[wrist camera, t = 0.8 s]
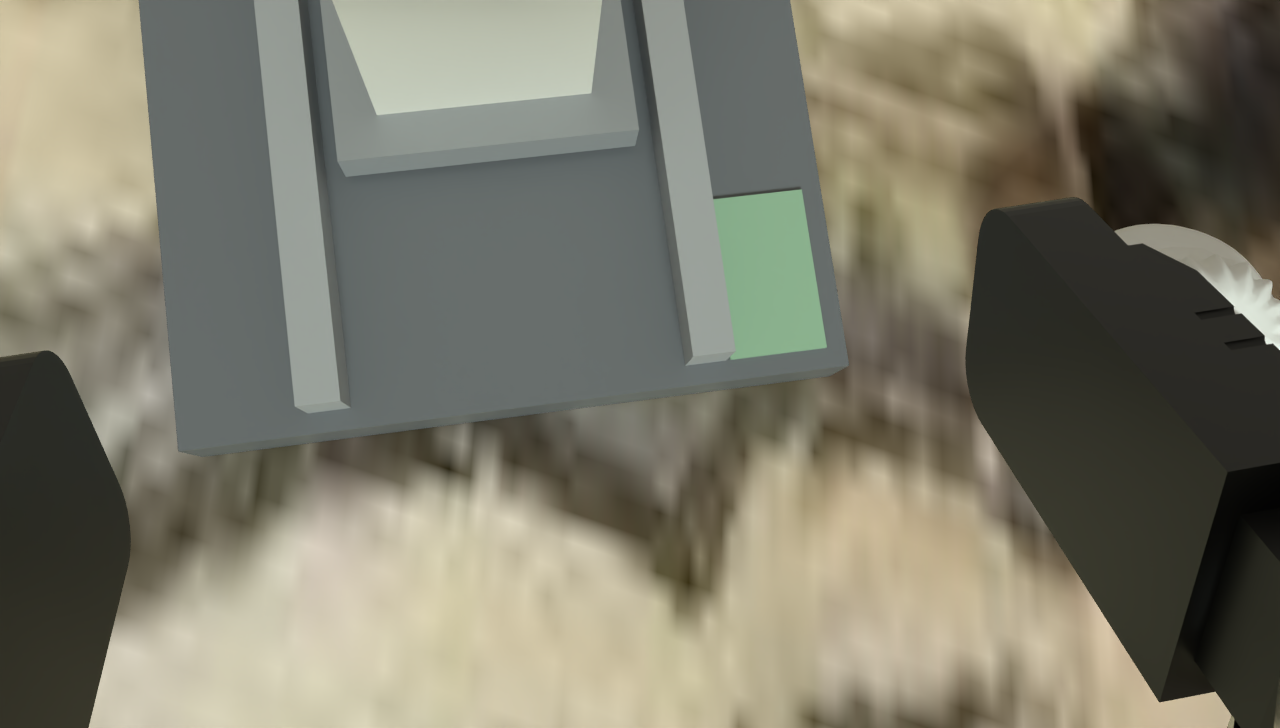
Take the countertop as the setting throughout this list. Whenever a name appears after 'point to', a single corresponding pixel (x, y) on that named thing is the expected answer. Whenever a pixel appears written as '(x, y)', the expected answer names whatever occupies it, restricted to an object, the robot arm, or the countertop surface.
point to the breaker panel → (479, 238)
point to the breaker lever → (475, 81)
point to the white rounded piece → (1215, 271)
